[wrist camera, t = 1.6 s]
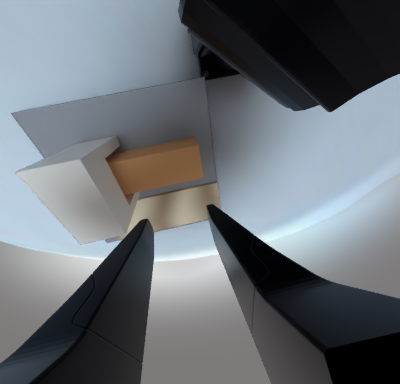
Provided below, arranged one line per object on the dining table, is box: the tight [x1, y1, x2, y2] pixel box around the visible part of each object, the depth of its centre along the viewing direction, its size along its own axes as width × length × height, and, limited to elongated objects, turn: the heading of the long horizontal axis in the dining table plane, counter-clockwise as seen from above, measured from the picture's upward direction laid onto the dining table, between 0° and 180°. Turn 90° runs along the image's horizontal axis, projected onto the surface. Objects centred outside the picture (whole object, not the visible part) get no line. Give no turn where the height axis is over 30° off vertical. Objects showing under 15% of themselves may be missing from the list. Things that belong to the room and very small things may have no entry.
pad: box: [116, 181, 221, 240], centre depth 22 cm, size 16×6×1 cm, turn 99°
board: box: [11, 77, 217, 243], centre depth 19 cm, size 18×18×1 cm
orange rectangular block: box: [105, 137, 204, 195], centre depth 16 cm, size 12×4×4 cm, turn 99°
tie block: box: [15, 136, 140, 245], centre depth 15 cm, size 4×7×7 cm, turn 9°
